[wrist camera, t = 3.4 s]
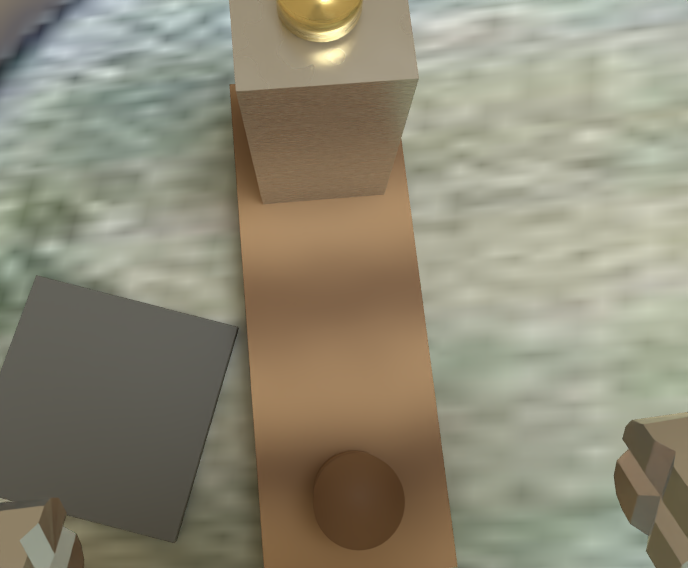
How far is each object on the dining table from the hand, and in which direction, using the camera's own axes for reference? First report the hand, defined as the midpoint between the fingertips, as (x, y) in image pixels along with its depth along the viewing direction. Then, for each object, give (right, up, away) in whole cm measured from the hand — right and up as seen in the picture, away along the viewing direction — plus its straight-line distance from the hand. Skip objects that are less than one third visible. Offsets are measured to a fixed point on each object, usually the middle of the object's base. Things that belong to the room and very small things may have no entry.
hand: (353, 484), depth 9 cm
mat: (-10, -2, +18) cm, 21 cm away
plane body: (-1, +1, +19) cm, 19 cm away
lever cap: (-1, +9, +17) cm, 20 cm away
